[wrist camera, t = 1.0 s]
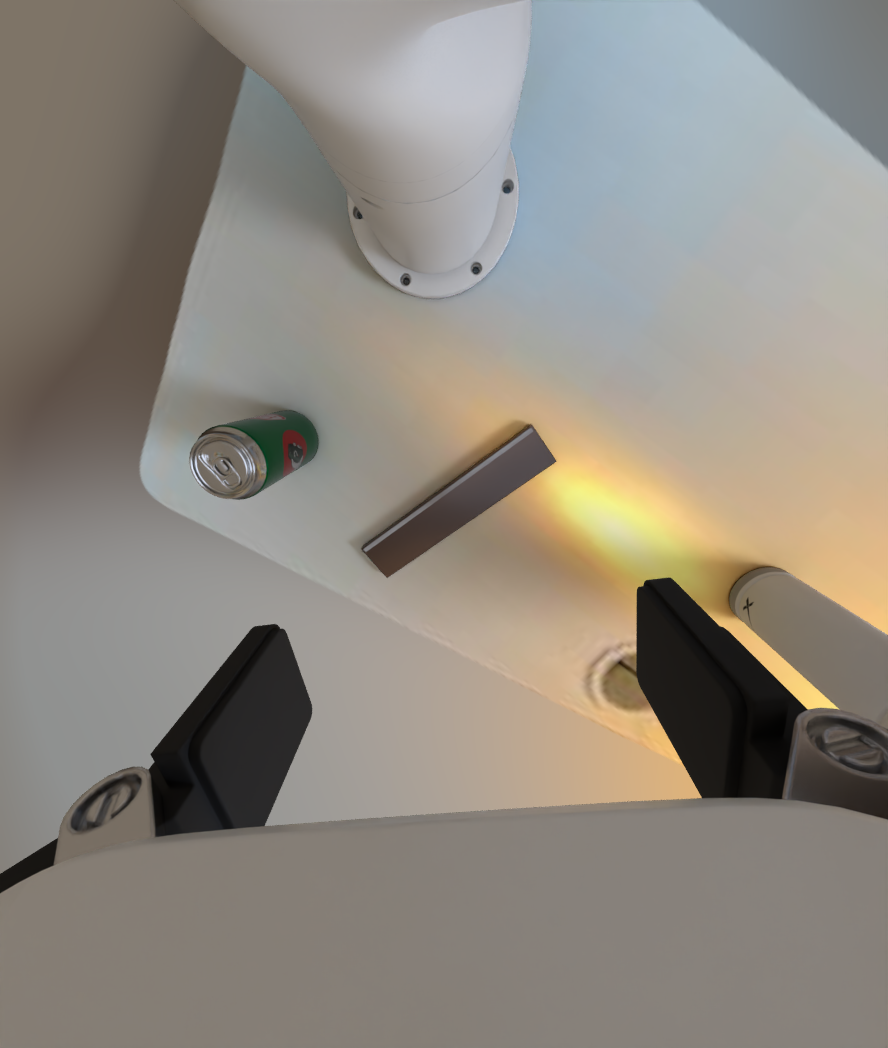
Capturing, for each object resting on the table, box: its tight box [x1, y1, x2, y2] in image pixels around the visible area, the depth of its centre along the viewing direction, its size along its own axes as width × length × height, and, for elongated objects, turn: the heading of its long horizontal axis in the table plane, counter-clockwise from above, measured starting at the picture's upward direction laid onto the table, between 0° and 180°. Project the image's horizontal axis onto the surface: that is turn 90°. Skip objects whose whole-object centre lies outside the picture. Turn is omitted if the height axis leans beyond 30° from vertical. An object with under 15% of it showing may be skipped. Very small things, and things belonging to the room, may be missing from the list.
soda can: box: [190, 410, 318, 500], centre depth 32 cm, size 5×5×12 cm
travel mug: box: [729, 567, 888, 729], centre depth 32 cm, size 6×7×20 cm
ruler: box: [362, 424, 556, 578], centre depth 39 cm, size 4×20×1 cm, turn 127°
